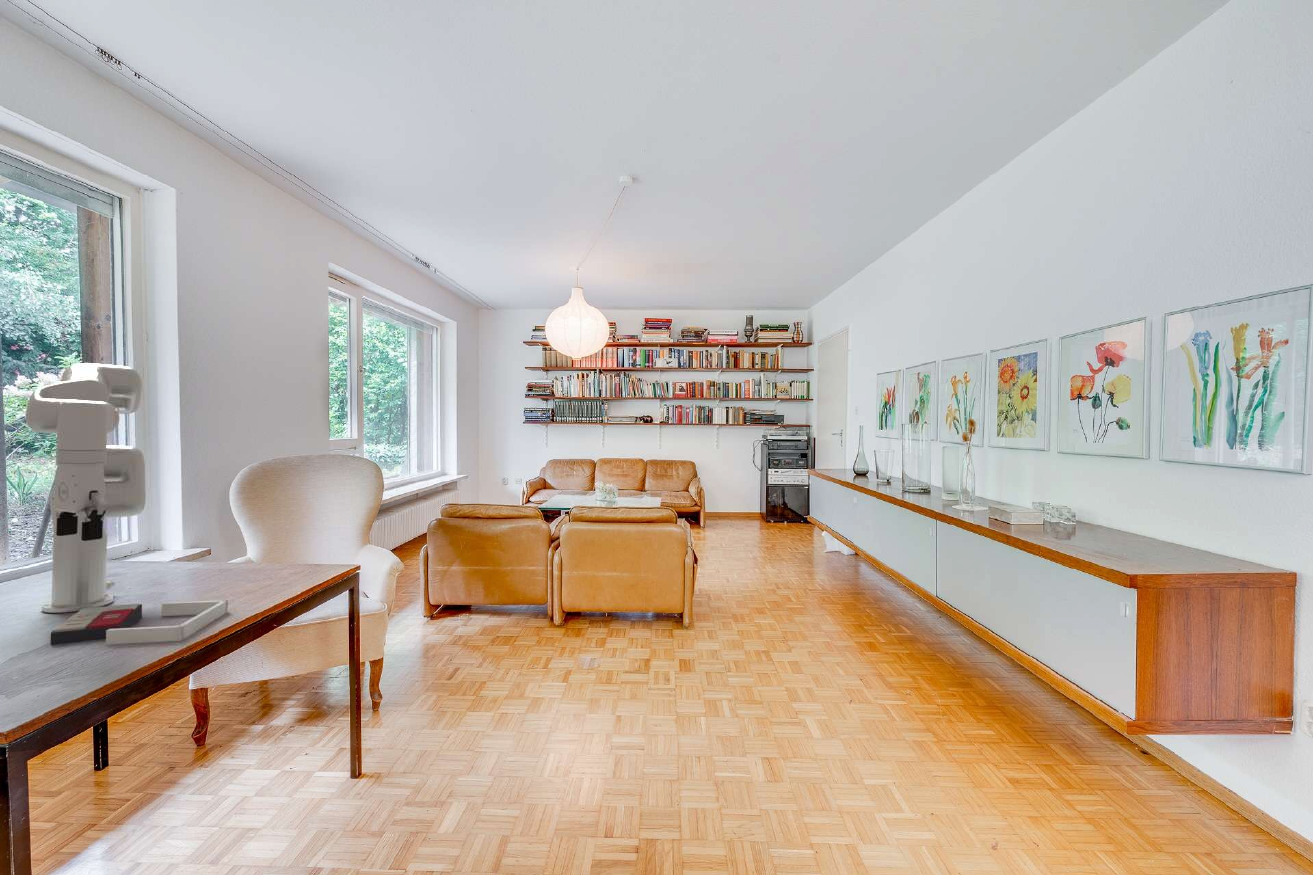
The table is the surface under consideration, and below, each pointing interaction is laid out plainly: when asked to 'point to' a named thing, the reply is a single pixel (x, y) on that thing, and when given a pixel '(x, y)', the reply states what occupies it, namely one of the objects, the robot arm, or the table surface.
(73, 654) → the table surface
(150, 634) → the white u-shaped fence
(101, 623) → the calculator
